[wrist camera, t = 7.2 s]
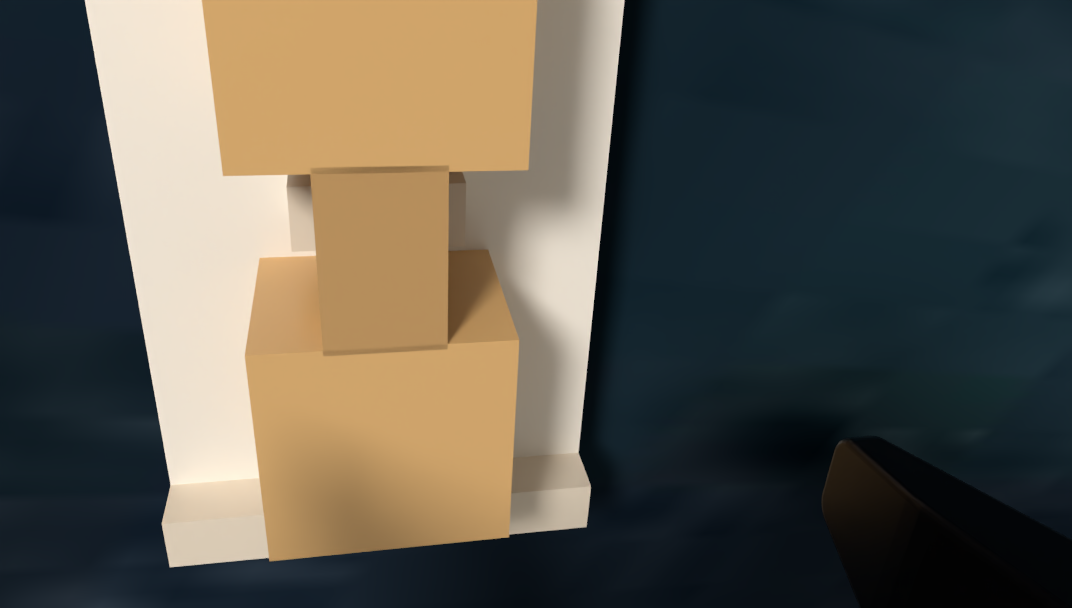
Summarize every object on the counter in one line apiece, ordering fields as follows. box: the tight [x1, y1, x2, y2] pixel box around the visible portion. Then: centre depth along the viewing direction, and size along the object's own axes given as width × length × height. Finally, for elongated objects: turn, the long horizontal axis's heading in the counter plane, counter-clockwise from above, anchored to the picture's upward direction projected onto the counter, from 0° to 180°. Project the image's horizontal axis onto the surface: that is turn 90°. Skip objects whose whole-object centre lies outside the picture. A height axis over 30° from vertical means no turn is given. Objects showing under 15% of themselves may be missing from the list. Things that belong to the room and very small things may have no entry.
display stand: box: [85, 0, 624, 567], centre depth 17 cm, size 9×16×4 cm, turn 176°
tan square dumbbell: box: [202, 0, 537, 561], centre depth 15 cm, size 4×12×4 cm, turn 177°
